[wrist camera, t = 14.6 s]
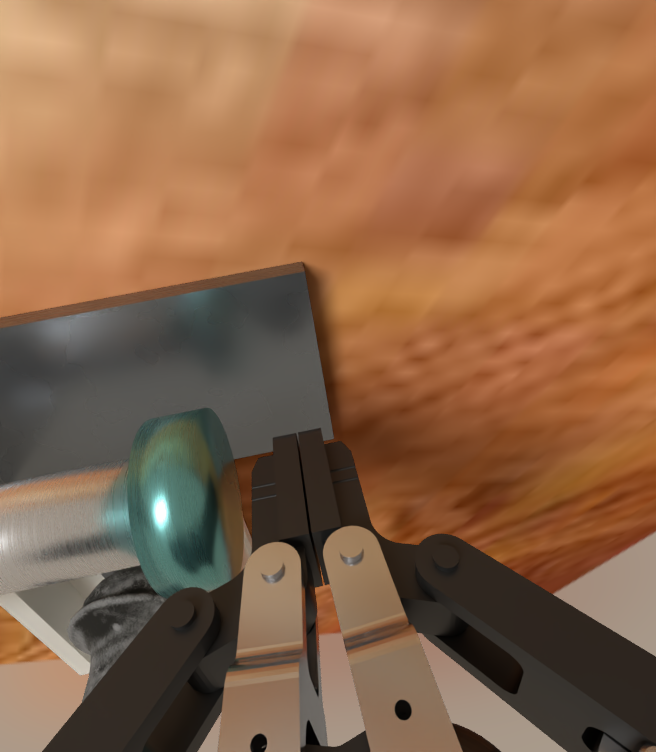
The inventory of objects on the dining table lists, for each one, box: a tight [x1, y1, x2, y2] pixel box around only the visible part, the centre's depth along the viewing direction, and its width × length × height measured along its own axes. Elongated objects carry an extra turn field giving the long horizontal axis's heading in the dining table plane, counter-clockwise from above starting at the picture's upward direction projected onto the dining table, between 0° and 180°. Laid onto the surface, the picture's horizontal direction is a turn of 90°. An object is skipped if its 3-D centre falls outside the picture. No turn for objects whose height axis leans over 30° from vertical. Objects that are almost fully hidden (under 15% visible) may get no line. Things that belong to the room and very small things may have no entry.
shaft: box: [0, 408, 244, 599], centre depth 12 cm, size 13×5×5 cm, turn 98°
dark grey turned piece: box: [67, 565, 167, 702], centre depth 18 cm, size 6×6×12 cm
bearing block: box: [0, 262, 334, 484], centre depth 14 cm, size 22×8×8 cm, turn 98°
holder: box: [0, 518, 252, 675], centre depth 22 cm, size 11×11×3 cm
